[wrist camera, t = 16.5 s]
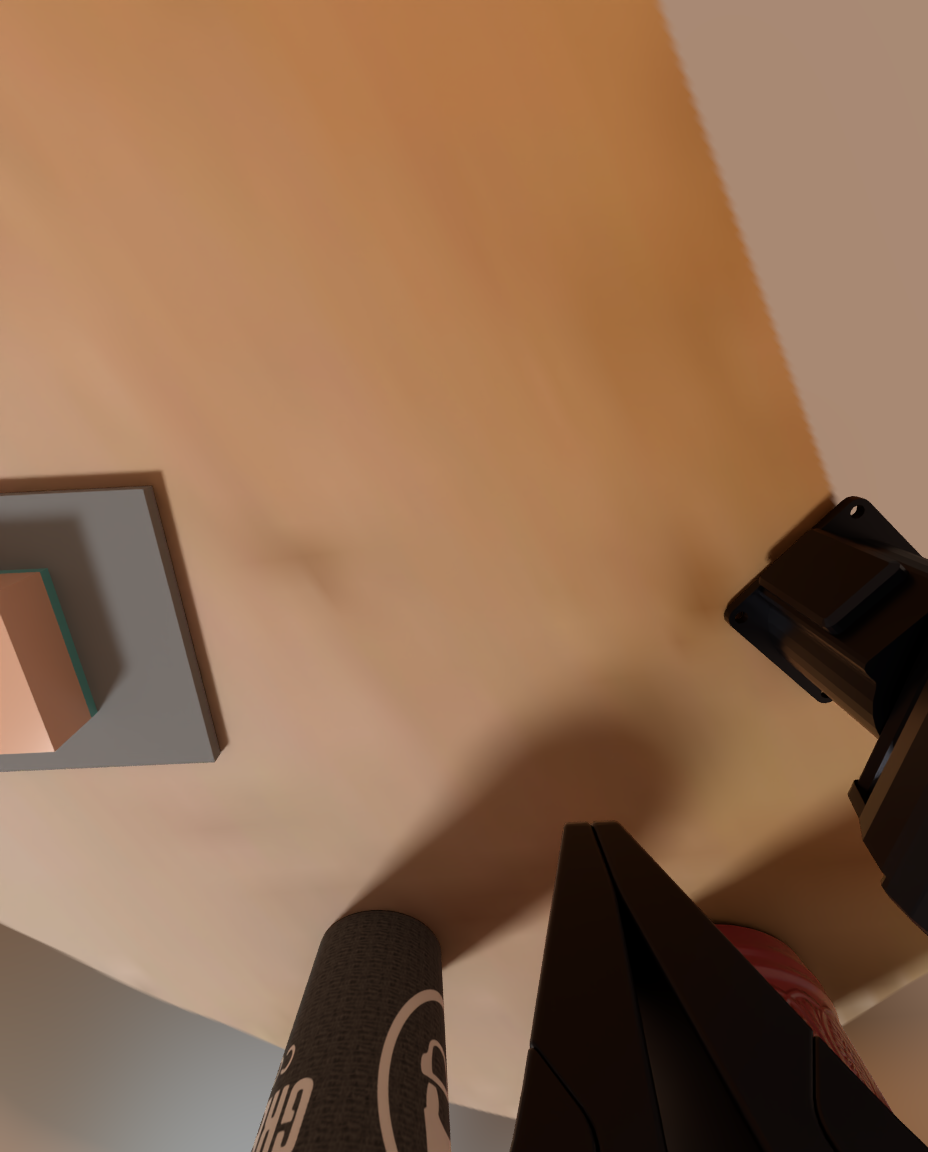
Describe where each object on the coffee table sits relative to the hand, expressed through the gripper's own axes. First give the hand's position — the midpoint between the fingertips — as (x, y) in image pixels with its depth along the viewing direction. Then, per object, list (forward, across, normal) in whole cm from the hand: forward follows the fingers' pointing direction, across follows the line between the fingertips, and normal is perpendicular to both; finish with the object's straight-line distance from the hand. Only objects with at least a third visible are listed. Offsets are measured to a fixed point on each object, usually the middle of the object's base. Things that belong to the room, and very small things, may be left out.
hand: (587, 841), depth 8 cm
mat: (+13, +20, +2) cm, 24 cm away
